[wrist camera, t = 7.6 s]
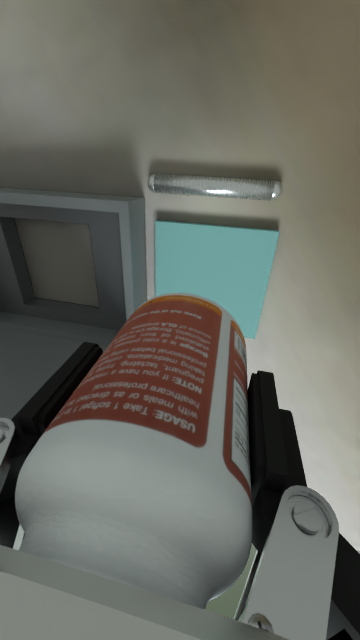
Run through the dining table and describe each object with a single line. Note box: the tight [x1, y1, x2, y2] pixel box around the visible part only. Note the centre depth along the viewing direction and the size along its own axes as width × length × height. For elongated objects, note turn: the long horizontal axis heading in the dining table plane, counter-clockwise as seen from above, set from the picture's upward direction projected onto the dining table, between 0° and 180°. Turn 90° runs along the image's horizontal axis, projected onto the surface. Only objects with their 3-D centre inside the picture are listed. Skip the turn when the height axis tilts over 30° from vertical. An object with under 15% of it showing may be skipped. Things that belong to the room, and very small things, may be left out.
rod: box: [148, 174, 282, 201], centre depth 18 cm, size 9×1×1 cm, turn 88°
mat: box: [155, 220, 280, 339], centre depth 21 cm, size 9×9×1 cm
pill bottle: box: [15, 293, 252, 610], centre depth 9 cm, size 6×6×11 cm
